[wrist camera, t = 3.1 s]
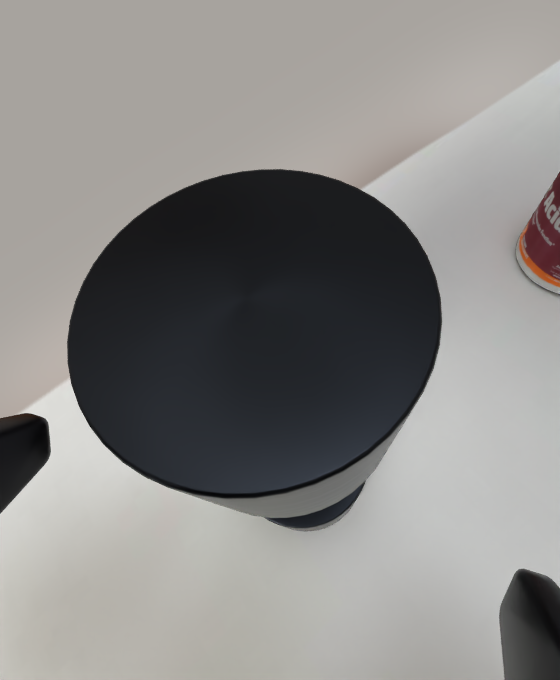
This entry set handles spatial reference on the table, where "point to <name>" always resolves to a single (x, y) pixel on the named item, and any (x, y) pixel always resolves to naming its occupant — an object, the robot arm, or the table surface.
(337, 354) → the dumbbell
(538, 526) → the table surface
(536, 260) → the pill bottle
